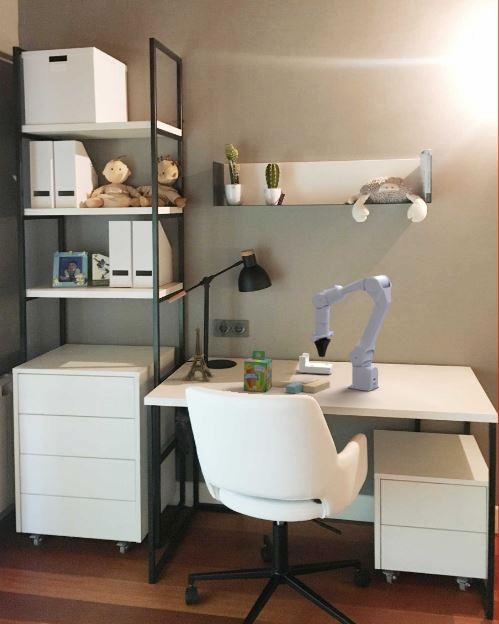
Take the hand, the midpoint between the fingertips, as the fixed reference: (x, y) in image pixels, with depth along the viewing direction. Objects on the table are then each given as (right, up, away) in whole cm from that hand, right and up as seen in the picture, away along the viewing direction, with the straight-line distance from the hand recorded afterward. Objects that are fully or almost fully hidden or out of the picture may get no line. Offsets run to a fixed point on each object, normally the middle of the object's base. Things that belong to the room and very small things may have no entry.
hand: (321, 356), depth 306 cm
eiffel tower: (-49, -10, +7) cm, 51 cm away
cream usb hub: (-3, -12, -12) cm, 17 cm away
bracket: (-1, -8, +16) cm, 18 cm away
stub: (-12, -12, -15) cm, 22 cm away
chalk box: (-25, -12, -10) cm, 30 cm away
